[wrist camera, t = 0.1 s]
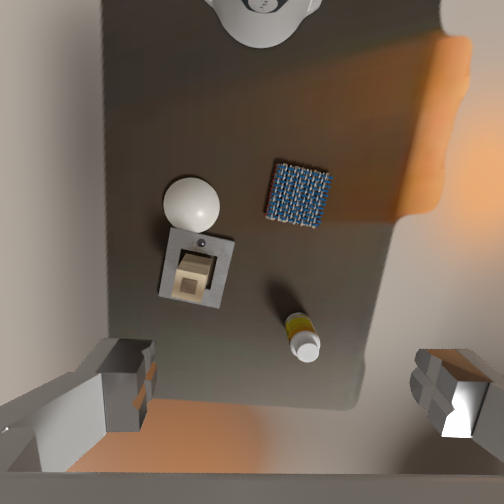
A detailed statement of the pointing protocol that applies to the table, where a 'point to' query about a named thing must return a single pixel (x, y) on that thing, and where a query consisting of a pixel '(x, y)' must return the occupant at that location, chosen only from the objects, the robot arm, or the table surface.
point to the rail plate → (202, 245)
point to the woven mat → (300, 191)
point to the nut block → (191, 278)
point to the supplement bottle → (302, 337)
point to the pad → (191, 205)
